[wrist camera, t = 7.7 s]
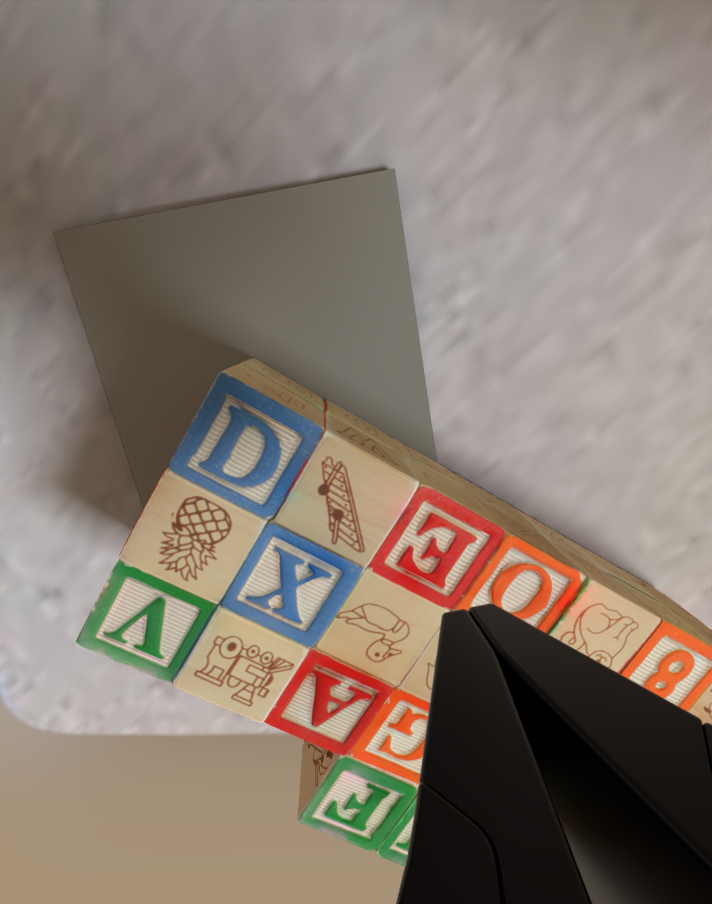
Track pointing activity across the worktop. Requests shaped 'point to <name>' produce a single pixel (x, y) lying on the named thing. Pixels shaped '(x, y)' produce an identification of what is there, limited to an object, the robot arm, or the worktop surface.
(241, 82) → the worktop surface
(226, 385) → the stack of blocks
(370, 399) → the mat
